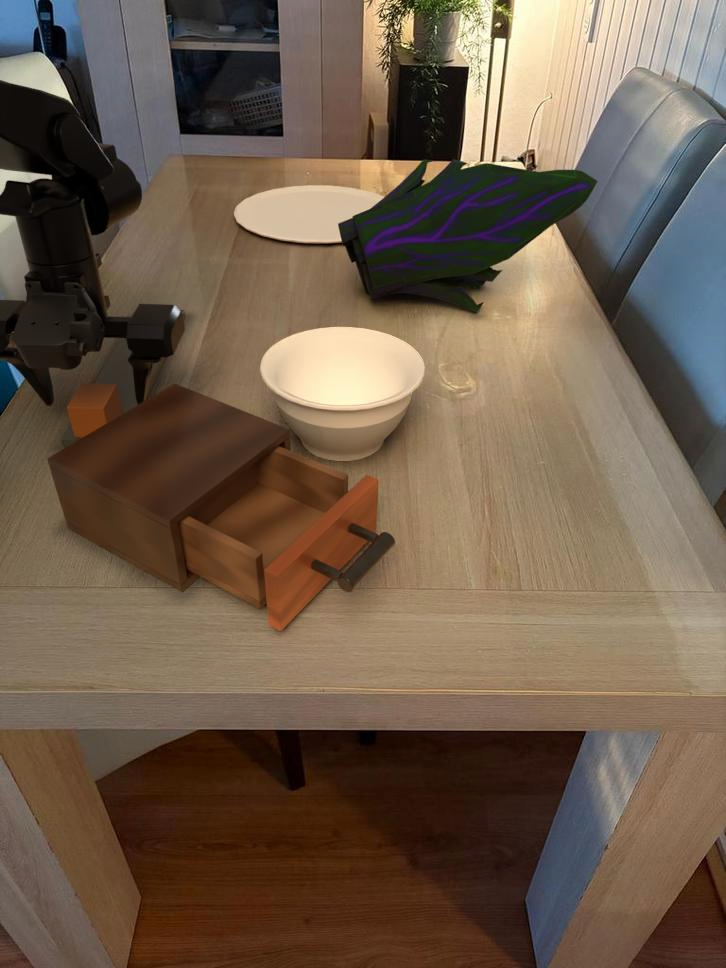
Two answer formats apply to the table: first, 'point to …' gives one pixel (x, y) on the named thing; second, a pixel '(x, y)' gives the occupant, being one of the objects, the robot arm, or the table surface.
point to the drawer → (285, 533)
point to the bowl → (342, 387)
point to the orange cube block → (93, 407)
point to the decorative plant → (456, 227)
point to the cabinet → (157, 474)
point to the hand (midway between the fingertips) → (96, 405)
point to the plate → (303, 212)
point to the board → (119, 381)
